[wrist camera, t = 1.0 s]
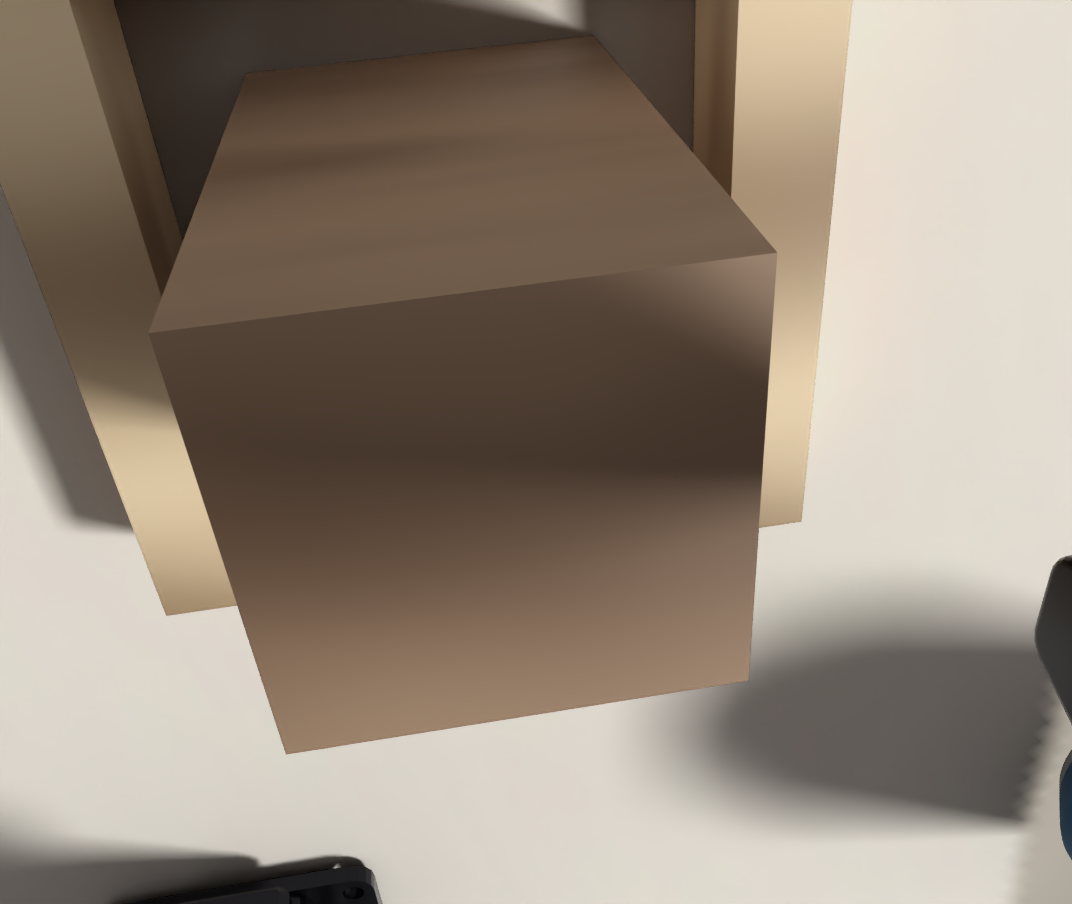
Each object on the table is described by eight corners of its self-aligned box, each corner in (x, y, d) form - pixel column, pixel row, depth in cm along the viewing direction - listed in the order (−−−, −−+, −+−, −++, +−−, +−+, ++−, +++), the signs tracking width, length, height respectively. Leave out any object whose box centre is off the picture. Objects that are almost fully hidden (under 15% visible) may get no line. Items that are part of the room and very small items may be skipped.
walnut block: (605, 338, 18) (748, 680, 11) (315, 377, 17) (286, 754, 11) (593, 35, 15) (777, 252, 8) (245, 72, 14) (148, 332, 8)
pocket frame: (764, 457, 19) (801, 521, 18) (183, 540, 19) (166, 615, 17) (811, -233, 13) (875, -231, 12) (-60, -153, 12) (-124, -140, 11)
